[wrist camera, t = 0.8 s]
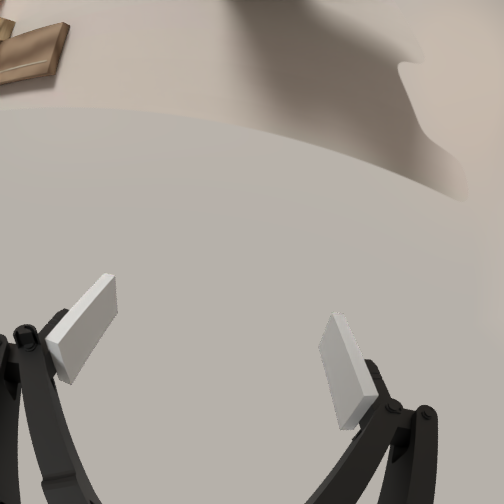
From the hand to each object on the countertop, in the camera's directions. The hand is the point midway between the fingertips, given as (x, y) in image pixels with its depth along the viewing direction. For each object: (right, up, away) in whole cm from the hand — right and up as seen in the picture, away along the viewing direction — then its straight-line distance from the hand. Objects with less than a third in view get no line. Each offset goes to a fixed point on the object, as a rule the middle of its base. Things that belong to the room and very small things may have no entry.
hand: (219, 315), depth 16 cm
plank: (-45, +41, +13) cm, 62 cm away
